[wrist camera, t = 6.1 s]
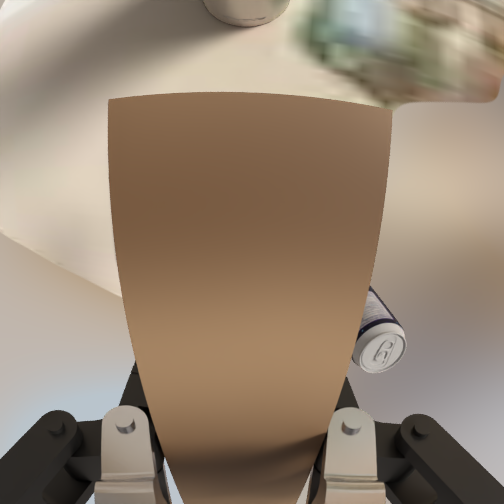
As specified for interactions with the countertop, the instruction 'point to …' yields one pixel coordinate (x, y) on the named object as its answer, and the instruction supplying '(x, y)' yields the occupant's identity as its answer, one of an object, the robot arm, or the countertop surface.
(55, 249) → the countertop surface
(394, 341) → the beverage can
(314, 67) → the countertop surface
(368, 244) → the rail
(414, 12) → the countertop surface
